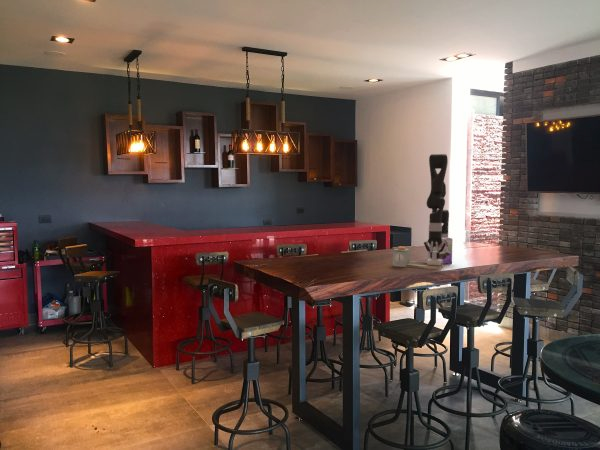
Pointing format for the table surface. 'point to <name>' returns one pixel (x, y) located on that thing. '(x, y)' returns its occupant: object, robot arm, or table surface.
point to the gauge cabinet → (401, 257)
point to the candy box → (444, 251)
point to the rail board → (423, 265)
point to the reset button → (401, 248)
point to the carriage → (434, 259)
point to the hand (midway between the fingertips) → (434, 258)
